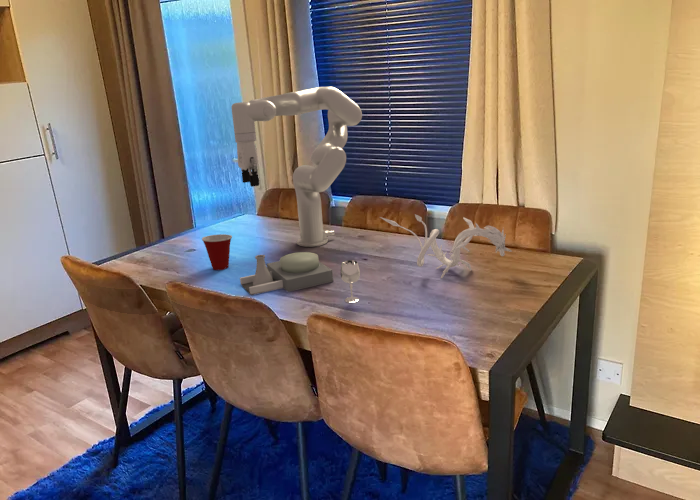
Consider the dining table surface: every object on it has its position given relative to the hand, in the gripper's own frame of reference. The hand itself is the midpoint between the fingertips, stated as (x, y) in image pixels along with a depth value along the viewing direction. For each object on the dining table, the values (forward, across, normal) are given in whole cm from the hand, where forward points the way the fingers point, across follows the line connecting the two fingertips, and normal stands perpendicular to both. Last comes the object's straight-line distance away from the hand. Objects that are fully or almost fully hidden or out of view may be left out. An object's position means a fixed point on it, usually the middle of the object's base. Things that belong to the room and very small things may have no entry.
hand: (250, 184), depth 215 cm
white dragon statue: (+28, +58, +45) cm, 79 cm away
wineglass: (+28, +60, +10) cm, 67 cm away
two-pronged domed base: (+28, +32, -2) cm, 43 cm away
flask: (+28, +32, -9) cm, 43 cm away
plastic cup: (+28, +4, -16) cm, 33 cm away
